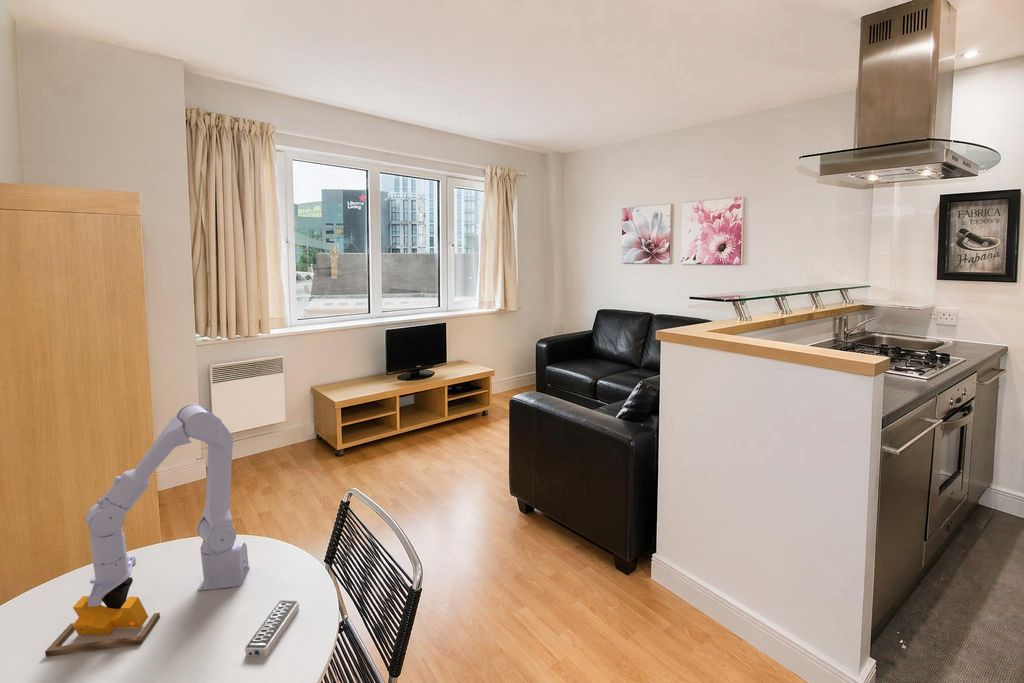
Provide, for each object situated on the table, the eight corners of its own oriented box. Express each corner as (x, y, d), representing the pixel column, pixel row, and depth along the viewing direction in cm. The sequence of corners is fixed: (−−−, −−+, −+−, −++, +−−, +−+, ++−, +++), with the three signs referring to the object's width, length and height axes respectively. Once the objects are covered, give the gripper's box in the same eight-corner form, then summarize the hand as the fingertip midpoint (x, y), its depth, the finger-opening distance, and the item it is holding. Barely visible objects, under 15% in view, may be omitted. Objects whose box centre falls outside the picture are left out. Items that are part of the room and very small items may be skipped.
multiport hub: (300, 609, 116) (299, 600, 116) (266, 659, 102) (265, 649, 101) (280, 609, 116) (280, 599, 116) (244, 658, 102) (243, 648, 101)
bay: (160, 617, 113) (159, 612, 113) (141, 644, 105) (141, 639, 105) (71, 628, 109) (70, 623, 109) (45, 656, 102) (44, 651, 102)
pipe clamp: (78, 635, 108) (66, 615, 105) (93, 615, 111) (82, 596, 108) (134, 635, 107) (124, 615, 104) (148, 616, 111) (138, 596, 108)
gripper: (108, 541, 116) (115, 595, 118) (66, 580, 102) (76, 641, 104) (143, 537, 117) (149, 591, 120) (106, 576, 103) (115, 636, 105)
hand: (118, 614), depth 112 cm, fingers closed
